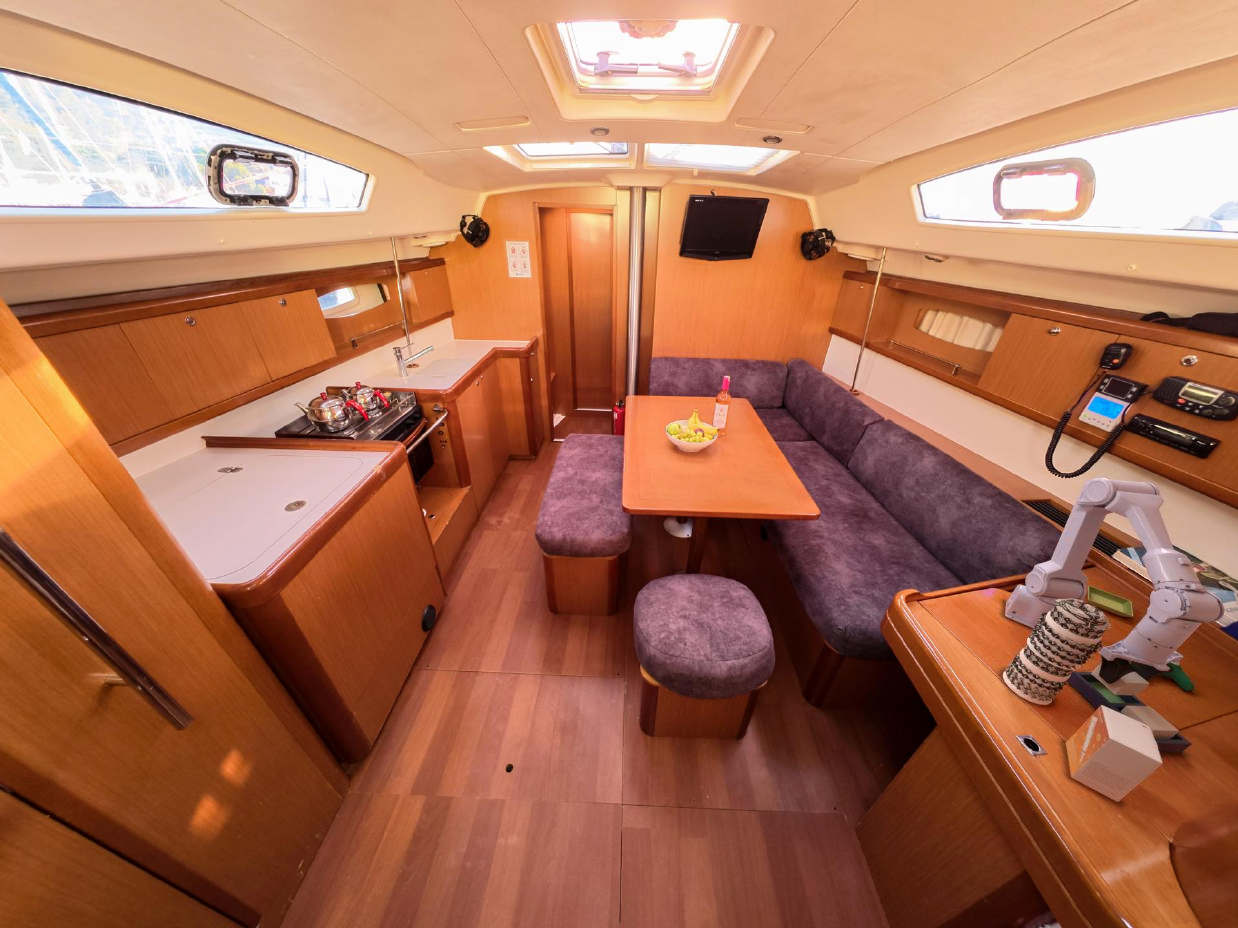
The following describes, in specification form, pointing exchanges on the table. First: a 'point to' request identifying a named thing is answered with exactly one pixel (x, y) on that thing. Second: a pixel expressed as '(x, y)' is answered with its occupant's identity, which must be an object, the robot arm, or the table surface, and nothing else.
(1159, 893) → the table surface
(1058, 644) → the decorative candle
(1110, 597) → the green shallow tray
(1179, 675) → the gaming controller
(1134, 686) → the white squarish block
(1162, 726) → the beige block
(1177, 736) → the holder
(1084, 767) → the small box
